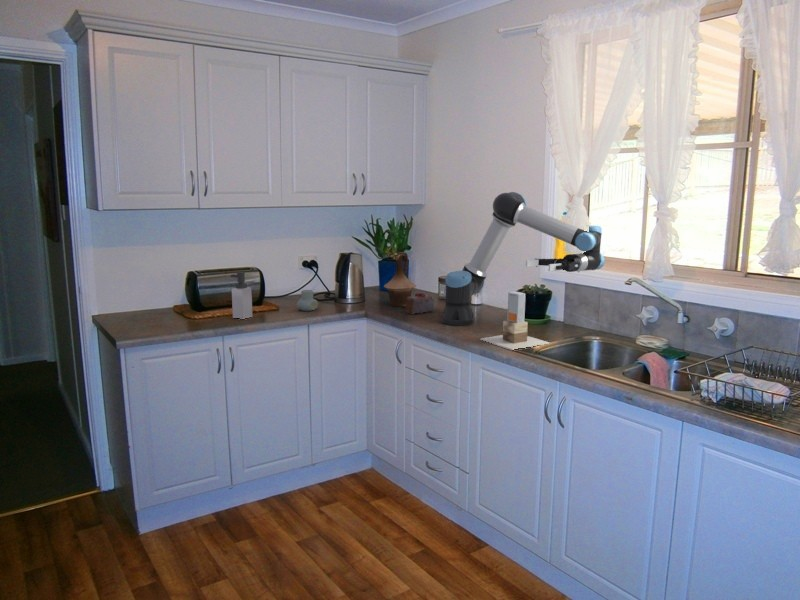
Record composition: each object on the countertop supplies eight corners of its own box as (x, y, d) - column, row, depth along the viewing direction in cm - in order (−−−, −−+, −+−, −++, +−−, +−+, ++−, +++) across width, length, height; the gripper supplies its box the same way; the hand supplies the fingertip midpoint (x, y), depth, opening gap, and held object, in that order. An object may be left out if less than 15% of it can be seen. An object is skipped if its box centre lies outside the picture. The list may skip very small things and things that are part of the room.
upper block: (502, 330, 263) (503, 320, 262) (515, 328, 266) (516, 319, 265) (514, 333, 257) (514, 324, 256) (527, 331, 260) (527, 322, 260)
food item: (424, 309, 329) (424, 290, 327) (435, 311, 323) (435, 292, 321) (404, 312, 320) (404, 293, 318) (414, 315, 314) (415, 295, 312)
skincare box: (506, 320, 262) (507, 292, 260) (514, 319, 264) (515, 291, 262) (517, 323, 257) (518, 294, 255) (524, 322, 259) (526, 293, 257)
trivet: (480, 339, 266) (480, 338, 266) (516, 334, 276) (516, 332, 276) (512, 350, 249) (512, 349, 249) (550, 344, 259) (550, 342, 259)
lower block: (502, 339, 263) (502, 330, 263) (515, 337, 267) (515, 328, 266) (514, 343, 258) (514, 333, 257) (527, 341, 261) (527, 331, 260)
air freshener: (307, 307, 332) (306, 288, 330) (320, 309, 328) (320, 289, 327) (294, 311, 323) (293, 291, 321) (307, 312, 319) (307, 293, 317)
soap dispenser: (238, 315, 312) (236, 270, 308) (252, 317, 308) (250, 272, 304) (229, 318, 306) (227, 272, 302) (243, 319, 302) (241, 273, 298)
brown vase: (393, 300, 352) (393, 250, 346) (421, 303, 344) (422, 251, 339) (378, 306, 336) (378, 253, 331) (407, 309, 329) (407, 255, 323)
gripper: (596, 275, 266) (558, 278, 255) (553, 267, 287) (517, 270, 276) (597, 257, 264) (560, 260, 253) (554, 250, 285) (517, 253, 274)
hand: (537, 265), depth 265 cm, fingers open, 13 cm apart
